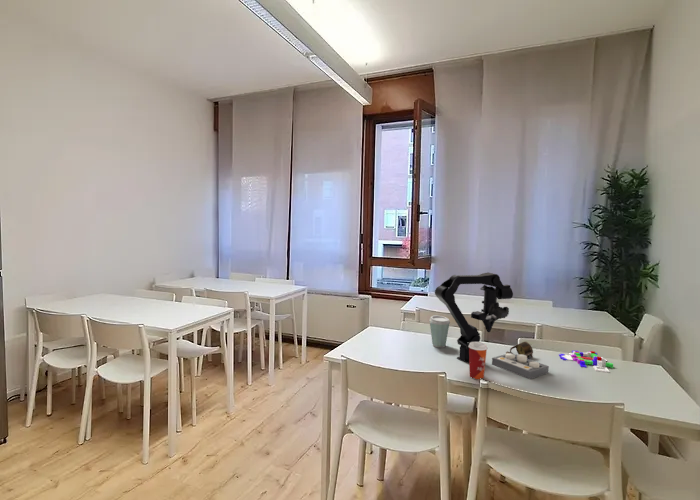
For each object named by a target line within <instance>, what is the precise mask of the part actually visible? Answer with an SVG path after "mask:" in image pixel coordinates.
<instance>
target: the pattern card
mask: <svg viewBox="0 0 700 500" xmlns="http://www.w3.org/2000/svg"><path fill="white" fill-rule="evenodd" d="M497 359H498V360H501V361H504V362H507V363H509V364H512V365H515V366H517V367H520V368H523V369H526V370H529V369H532V367H529V366H526V365H523V364H521V363H518V362H515V361H512V360H509V359H507V358H504V357H500V358H497Z"/></svg>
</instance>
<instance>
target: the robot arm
mask: <svg viewBox="0 0 700 500" xmlns="http://www.w3.org/2000/svg"><path fill="white" fill-rule="evenodd" d="M460 285H482V286H481V287H480V288H479V289H480V290H481V291H483V293H484V295H483V300H481V303H482V304H483V308H482V309H481V310H480V311H479V310H477V311H472V312H471V313H470V318H471V319H474V320H478V321H482V323H483V325H484V328H485V330H486V332H487V333H490V332H491V331H492V328H493V326H494V324H495V322H497V321H498V320H501V319H505V318H506V317H508V316H509V314H510V308H509V307H508V306H503V307H501V306H500V304H499V303H500V302H499V301H497V300H510V299H512V298H514V297H513V296H514V292H513V289H512V288H511V284H504V283H503V282H502V280H501V278H500V276H499V274H497V273H493V272H484V273H480V274H476V275H475V274H474V275H473V274H471V275H470V274H469V275H468V274H467V275H465V274H464V275H463V274H462V275H461V274H460V275H457V274H453V275H451V276H450V277H449V278H448V279H446V280H444V281H443V282H441V284H440V285H438V286H436V288H435V290H434V295H435V297H436V298H437V299H438V300H439V301H440V302H441V303H442V304H444V305H445V307H446V309H448V311H449V313H450V315H451V316H452V318H453V320H454V321H455V323H456V324H457V326H458V327H459V330H460V337H459V338H458V339H457V340H456V342H457V345H459V356H457V357H456V359H458V360H460V361H463V362H464V363H469V347H468V346H469V343H470V342H480V341H481V333H480V332H479V330H478V329H477V327H476V326H474V325H471V324H469V322H468V321H467V319H466V317H465V316H464V314H463V312H462V311H461V309H460V307H459V306H458V304H457V303H456V297H455V293H456V292H457V291H458V289H459V286H460Z"/></svg>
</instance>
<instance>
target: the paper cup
mask: <svg viewBox="0 0 700 500" xmlns="http://www.w3.org/2000/svg"><path fill="white" fill-rule="evenodd" d="M468 347H469V362H468V365H469V367H468V368H469V369H468V370H469V377H470V378H471V377H472V378H471V379H473V378H475V379H474V380H481V379H480V378H483V379H484V376H485V369H486V360H487V350H488V346H487V344H486V343H484V342H482V341H481V342H480V341H479V342H470V343H469V346H468Z"/></svg>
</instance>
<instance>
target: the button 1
mask: <svg viewBox="0 0 700 500" xmlns="http://www.w3.org/2000/svg"><path fill="white" fill-rule="evenodd" d="M514 354H515V353H513V354H510V353H507V354H506V353H505V354H504V355H505V358H508V359H511V360H512V359H515V355H516V354H515V355H514Z"/></svg>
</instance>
